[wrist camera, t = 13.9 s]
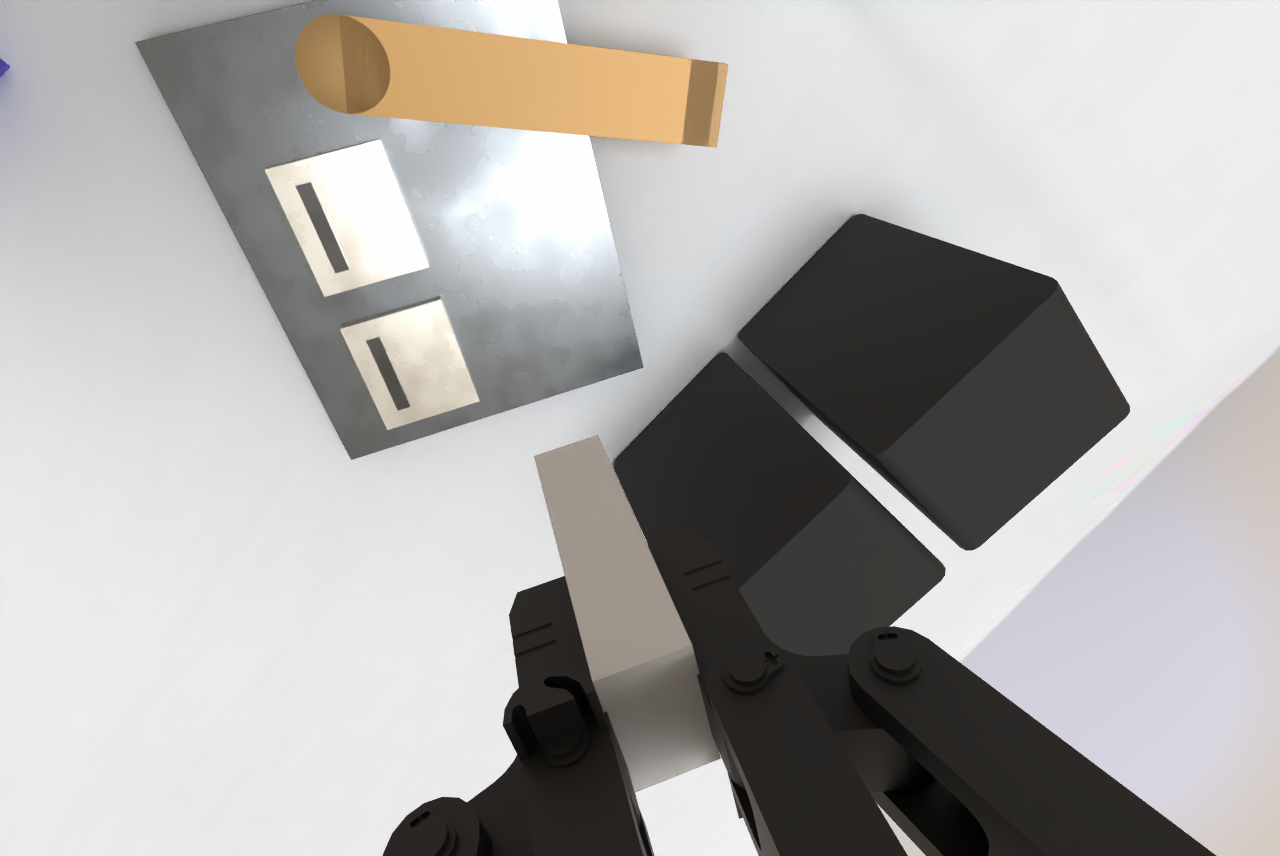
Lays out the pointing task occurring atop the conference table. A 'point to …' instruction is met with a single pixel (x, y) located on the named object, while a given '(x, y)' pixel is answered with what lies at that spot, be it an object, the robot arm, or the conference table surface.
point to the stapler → (3, 67)
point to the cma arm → (507, 81)
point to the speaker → (873, 428)
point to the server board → (404, 228)
